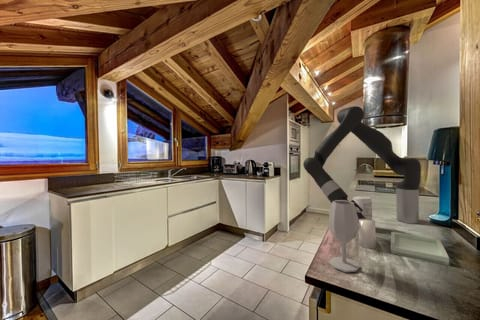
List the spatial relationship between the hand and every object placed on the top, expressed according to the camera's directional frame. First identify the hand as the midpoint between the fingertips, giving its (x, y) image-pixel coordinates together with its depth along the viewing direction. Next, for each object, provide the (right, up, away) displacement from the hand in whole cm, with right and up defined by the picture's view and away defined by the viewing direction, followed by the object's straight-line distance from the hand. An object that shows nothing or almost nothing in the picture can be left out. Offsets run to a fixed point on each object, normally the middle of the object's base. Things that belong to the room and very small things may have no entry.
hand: (360, 224), depth 82 cm
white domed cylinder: (+2, -8, -2) cm, 8 cm away
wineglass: (-15, -9, -16) cm, 23 cm away
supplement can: (+11, -7, +17) cm, 22 cm away
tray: (+17, -7, -6) cm, 20 cm away
